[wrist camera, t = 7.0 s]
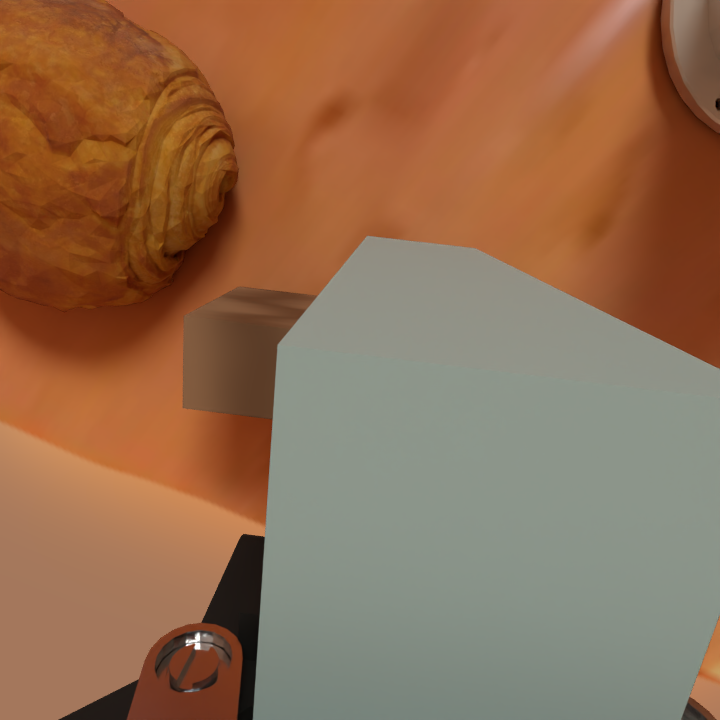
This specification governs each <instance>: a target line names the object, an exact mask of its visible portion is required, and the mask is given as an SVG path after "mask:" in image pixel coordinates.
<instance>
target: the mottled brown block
mask: <svg viewBox="0 0 720 720" xmlns="http://www.w3.org/2000/svg"><path fill="white" fill-rule="evenodd" d="M316 298H317V296H314V295H305V294H297V293H288V292H280V291H271V290H263V289H254V288H246V287H238V288H236V289H234V290H232V291H230V292H228V293H226V294H224V295H222V296H221V297H219V298H217V299H215V300H213V301H211V302H209V303H207V304H205V305H203V306H202V307H200V308H198V309H196V310H194V311H192V312H190V313H188V314H186V315H185V316H184V346H183V408H186V409H194V410H202V411H210V412H218V413H226V414H234V415H242V416H250V417H258V418H267V419H273V407H274V392H275V377H276V362H277V347H278V344H279V343H280V341H281V340H282V339H283V338H284V336H285V335H286V334H287V333H288V332H289V330H290V329H291V328H292V327H293V326H294V324H295V323H296V322H297V321H298V319H299V318H300V317H301V316H302V315H303V313H304V312H305V311H306V310H307V309H308V307H309V306H310V305H311V304H312V302H313V301H314V300H315V299H316Z"/></svg>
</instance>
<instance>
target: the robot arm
mask: <svg viewBox="0 0 720 720" xmlns="http://www.w3.org/2000/svg"><path fill="white" fill-rule="evenodd" d="M661 33H662V48H663V52H664V56H665V59H666V63H667V67H668V71H669V75H670V77H671V79H672V81H673V83H674V85H675V87H676V89H677V91H678V93H679V95H680V97H681V98H682V99H683V101H684V102H685V103H686V104H687V106H688V107H689V108H690V109H691V111H692V112H693V113H694V114H695V116H696V117H697V118H699V119H700V120H701V121H703V122H704V123H705V124H706V125H708V126H709V127H710V128H712V129H713V130H714V131H715V132H718V133H720V0H663V2H662V11H661ZM715 101H717V102H718V104H719V105H718V109H716V107H715ZM264 544H265V537H263V536H255V535H247V534H243V535H242V536H241V537H240V539H239V541H238V543H237V546H236V548H235V550H234V552H233V554H232V557H231V559H230V561H229V563H228V566H227V568H226V570H225V572H224V574H223V576H222V579H221V581H220V583H219V585H218V587H217V590H216V592H215V594H214V596H213V598H212V601H211V603H210V605H209V607H208V609H207V612H206V614H205V616H204V618H203V620H202V622H201V623H197V624H189V625H185V626H183V627H180V628H177V629H174V630H172V631H171V632H169V633H168V634H166V635H164V636H163V637H161V638H160V639H159V640H158V641H157V643H155V644H154V646H153V647H152V648H151V649H150V651H149V653H148V655H147V657H146V659H145V662H144V665H143V668H142V671H141V675H140V678H139V680H137V681H135V682H132V683H131V684H128V685H126V686H125V687H122V688H121V689H119V690H117V691H115V692H113V693H111V694H109V695H107V696H105V697H103V698H101V699H99V700H97V701H95V702H93V703H91V704H89V705H87V706H85V707H83V708H81V709H79V710H77V711H75V712H73V713H71V714H70V715H67V716H65V717H63V718H61V719H59V720H253V710H254V695H255V680H256V665H257V650H258V634H259V619H260V604H261V589H262V574H263V559H264ZM681 720H716V719H715V718H714V717H713V716H712V714H711V713H710V712H709V711H708V710H706V709H705V708H704V707H703V706H701V705H700V704H699V703H698V702H696V701H695V700H694V699H692V698H690V697H689V699H688V702H687V705H686V707H685V710H684V713H683V715H682V718H681Z"/></svg>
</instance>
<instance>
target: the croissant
mask: <svg viewBox="0 0 720 720" xmlns="http://www.w3.org/2000/svg"><path fill="white" fill-rule="evenodd" d="M234 146H235V145H234V141H233V135H232V131H231V128H230V126H229V124H228V123H227V121H226V120H225V117H224V112H223V110H222V108H221V105H220V103H219V102H218V101H217V100H216V98H215V96H214V93H213V91H212V90H211V88H210V86H209V84H208V82H207V80H206V79H205V77H204V76H203V74H202V73H201V71H200V70H199V69H198V67H197V66H196V65H195V64H194V63H193V62H192V61H191V60H190V59H189V58H188V56H187V55H186V54H185V53H184V52H183V51H182V50H180V49H179V48H178V47H176V46H175V45H174V44H172V43H171V42H170V41H168V40H167V39H166V38H164V37H163V36H161V35H159V34H158V33H156V32H154V31H152V30H145V29H144V28H142V27H140V26H139V25H137V24H135V23H134V22H132V21H130V20H129V19H127V18H125V17H124V15H123V13H122V12H121V11H119V10H118V9H116V8H115V7H113V6H112V5H110V4H109V3H107V2H106V1H104V0H0V289H1V290H2V291H4V292H5V293H7V294H9V295H11V296H14V297H16V298H19V299H23V300H27V301H30V302H34V303H38V304H41V305H47V306H53V307H55V308H57V309H59V310H61V311H63V312H66V311H67V310H70V309H73V308H76V307H82V308H87V309H93V308H97V307H101V306H122V305H129V304H133V303H142V302H143V301H145V300H147V299H149V298H150V297H151V296H152V294H154V293H155V292H157V291H159V290H161V289H162V288H165V287H167V286H169V285H171V283H172V282H173V279H172V275H173V273H174V272H176V271H177V270H178V269H179V268H180V266H181V265H182V263H183V259H184V256H185V250H188V249H189V248H190V247H191V246H192V245H193V244H195V243H196V242H197V241H199V240H200V239H202V238H203V237H205V234H206V233H207V232H208V228H209V227H211V226H212V225H214V224H215V223H216V222H218V215H219V214H220V213H221V211H222V209H223V207H224V196H225V192H228V191H229V190H230V189H232V188H233V187H234V186H235V184H236V182H237V178H238V170H239V169H238V167H237V162H236V156H235V153H234V150H233V149H234Z"/></svg>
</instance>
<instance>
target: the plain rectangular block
mask: <svg viewBox="0 0 720 720" xmlns="http://www.w3.org/2000/svg"><path fill="white" fill-rule="evenodd" d="M719 616H720V369H718V368H716V367H714V366H712V365H710V364H708V363H706V362H704V361H702V360H700V359H698V358H696V357H694V356H692V355H690V354H688V353H686V352H684V351H682V350H680V349H678V348H676V347H674V346H672V345H670V344H668V343H666V342H664V341H662V340H660V339H658V338H656V337H654V336H652V335H650V334H648V333H646V332H644V331H641V330H639V329H637V328H635V327H633V326H631V325H629V324H627V323H625V322H623V321H621V320H619V319H617V318H615V317H613V316H611V315H609V314H607V313H605V312H603V311H601V310H599V309H597V308H595V307H593V306H591V305H589V304H587V303H585V302H583V301H581V300H579V299H577V298H575V297H573V296H571V295H569V294H567V293H565V292H563V291H561V290H559V289H556V288H554V287H552V286H550V285H548V284H546V283H544V282H542V281H540V280H538V279H536V278H534V277H532V276H530V275H528V274H526V273H524V272H522V271H520V270H518V269H516V268H514V267H512V266H510V265H508V264H506V263H504V262H502V261H500V260H498V259H496V258H494V257H492V256H490V255H488V254H486V253H484V252H482V251H480V250H478V249H476V248H468V247H459V246H451V245H442V244H433V243H425V242H416V241H407V240H398V239H390V238H381V237H372V236H367V237H366V238H365V239H364V240H363V242H362V243H361V244H360V245H359V247H358V248H357V249H356V250H355V251H354V253H353V254H352V255H351V256H350V257H349V259H348V260H347V261H346V262H345V264H344V265H343V266H342V267H341V268H340V270H339V271H338V272H337V273H336V274H335V276H334V277H333V278H332V279H331V281H330V282H329V283H328V284H327V285H326V287H325V288H324V289H323V290H322V292H321V293H320V294H319V295H318V296H317V298H316V299H315V300H314V301H313V302H312V304H311V305H310V306H309V307H308V309H307V310H306V311H305V312H304V313H303V315H302V316H301V317H300V318H299V319H298V321H297V322H296V323H295V324H294V326H293V327H292V328H291V329H290V330H289V332H288V333H287V334H286V335H285V336H284V338H283V339H282V340H281V341H280V343H279V344H278V347H277V362H276V377H275V392H274V407H273V423H272V438H271V453H270V468H269V483H268V498H267V513H266V528H265V544H264V559H263V574H262V589H261V604H260V619H259V634H258V650H257V665H256V680H255V695H254V710H253V720H681V718H682V715H683V713H684V710H685V707H686V705H687V702H688V699H689V696H690V694H691V691H692V688H693V686H694V683H695V680H696V678H697V675H698V672H699V670H700V667H701V664H702V661H703V659H704V656H705V653H706V651H707V648H708V645H709V643H710V640H711V637H712V635H713V632H714V629H715V626H716V624H717V621H718V618H719Z"/></svg>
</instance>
